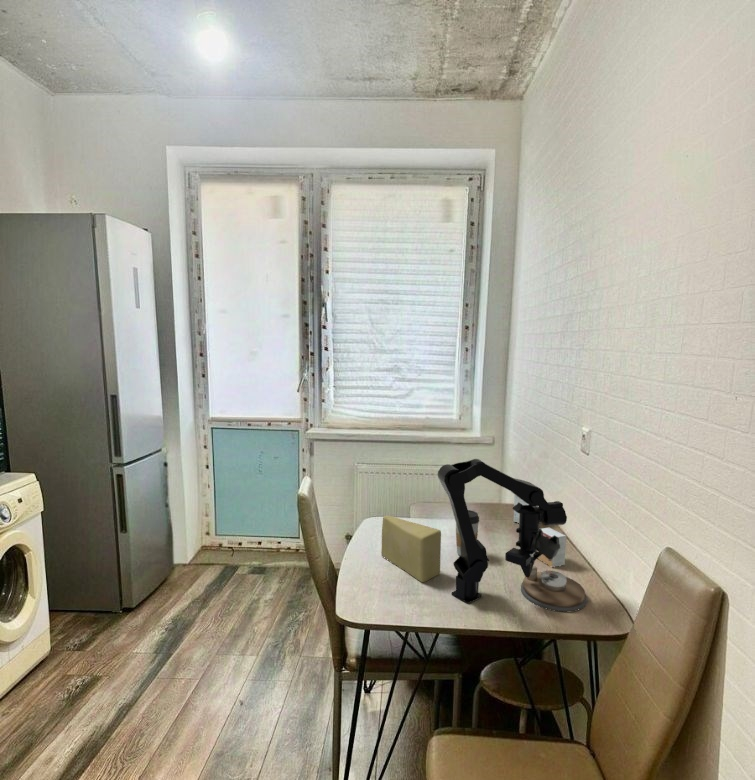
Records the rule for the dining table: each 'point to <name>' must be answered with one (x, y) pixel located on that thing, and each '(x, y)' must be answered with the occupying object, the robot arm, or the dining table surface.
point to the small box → (560, 555)
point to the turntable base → (550, 605)
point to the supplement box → (516, 501)
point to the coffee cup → (474, 521)
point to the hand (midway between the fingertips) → (527, 576)
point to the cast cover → (553, 581)
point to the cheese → (412, 547)
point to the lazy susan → (560, 599)
